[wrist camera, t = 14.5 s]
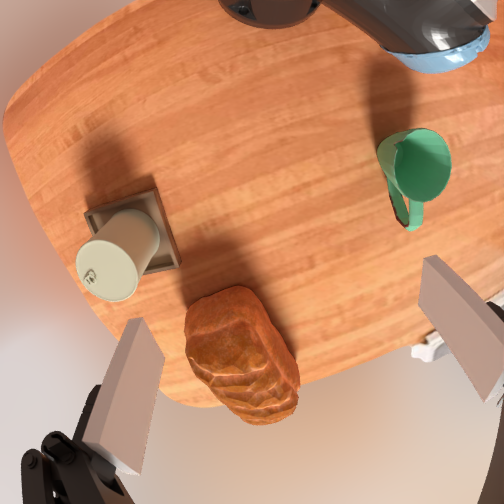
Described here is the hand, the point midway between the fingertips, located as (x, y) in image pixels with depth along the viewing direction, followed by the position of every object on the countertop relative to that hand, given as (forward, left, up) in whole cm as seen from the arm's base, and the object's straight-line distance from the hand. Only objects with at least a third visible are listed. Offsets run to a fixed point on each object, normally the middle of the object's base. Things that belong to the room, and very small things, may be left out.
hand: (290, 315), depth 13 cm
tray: (+5, -21, -32) cm, 38 cm away
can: (+5, -21, -31) cm, 38 cm away
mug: (+3, +21, -32) cm, 38 cm away
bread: (+31, -8, -32) cm, 45 cm away
